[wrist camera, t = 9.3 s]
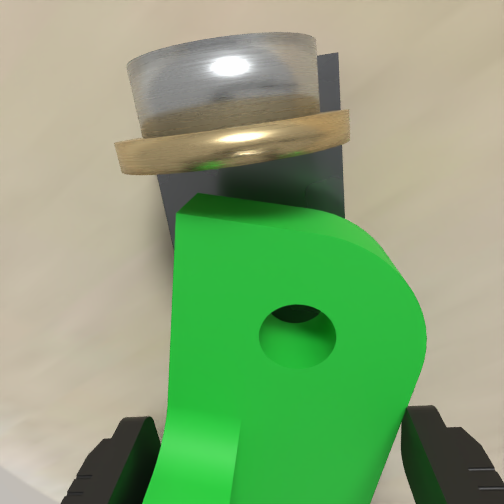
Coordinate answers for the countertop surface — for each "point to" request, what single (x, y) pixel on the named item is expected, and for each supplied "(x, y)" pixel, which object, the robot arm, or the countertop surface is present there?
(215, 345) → the mechanical part
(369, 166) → the countertop surface
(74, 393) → the countertop surface
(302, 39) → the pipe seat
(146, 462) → the robot arm
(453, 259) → the countertop surface
